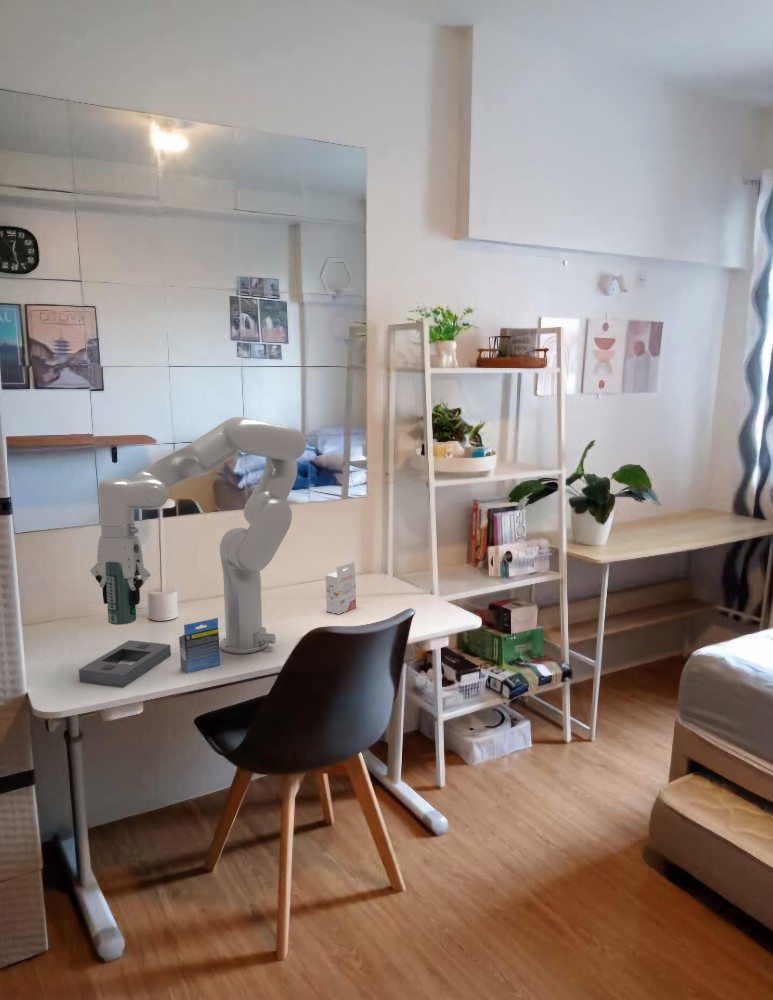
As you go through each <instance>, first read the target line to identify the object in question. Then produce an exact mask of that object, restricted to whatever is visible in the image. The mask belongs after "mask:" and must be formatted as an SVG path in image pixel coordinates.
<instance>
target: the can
mask: <svg viewBox="0 0 773 1000" xmlns="http://www.w3.org/2000/svg"><path fill="white" fill-rule="evenodd" d="M133 581H134V580H133ZM106 588H107V604H106V605H107V621H108V623H109V624H111V625H114V626H116V625H118V626H119V625H128V624H132V623H134V622H136V621H137V607H136V606H137V605H135V606H133V607H131V606H130V605H129V591H130V590H131V588H130V586H129V583H128V581H127V579H124V576H123V571H122V564H121V570H120V563H109V562H106Z"/></svg>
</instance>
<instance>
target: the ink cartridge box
mask: <svg viewBox="0 0 773 1000" xmlns="http://www.w3.org/2000/svg"><path fill="white" fill-rule="evenodd" d="M346 568H348V569H346ZM356 582H357V581H356V567H355V561H352V562H348V563H345V564H342V565H340V566H337V567H336V571H333V572H332V573H328V574H325V589H326V590H325V592H326V593H325V594H326V596H325V597H326V612H327V611H328V612H327V613H329V612H333V613H337V614H339V613H342V612H344V613H346V612H345V611H347V612H350V611H351V609H352V610H354V609H355V608H357V598H356V597H357V591H356V587H357V585H356ZM333 613H332V614H333ZM337 614H336V615H337ZM342 614H343V613H342ZM339 615H340V614H339Z"/></svg>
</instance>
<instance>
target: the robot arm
mask: <svg viewBox="0 0 773 1000" xmlns="http://www.w3.org/2000/svg"><path fill="white" fill-rule="evenodd" d="M306 448H307V440H306V436H305V435H304V434H303V433H302V432H301V431H300V430H299V429H298V428H296V427H291V426H286V425H281V424H280V425H279V424H275V423H274V424H273V423H271V422H270V423H269V422H265V421H259V420H256V419H252V418H247V417H241V416H234V417H233V416H232V417H231V418H228V419H226V420H224V421H222V423H220V424H218V425H217V426H215V427H213V429H211V430H209V431H208V432H206V433H205V434H203V435H201V436H200V437H199V438H197V439H195V440H194V441H192V442H191V443H189V444H187V445H186V446H183V447H182V448H180V449H177V450H175V451H174V452H171V453H170V454H168V455H166V456H164V457H162V458H160V459H158V460H157V461H155V462H153V463H151V464H150V465H148V466H147V467H146V468H144V469H143V470H140V471H139V472H138V473H136V474H135V475H134V476H133V477H132V478H131V479H126V478H107V479H103V480H102V481H100V482H99V484H98V498H99V517H100V518H99V519H100V534H101V535H100V536H99V537H98V538H99V539H98V543H97V544H98V545H97V557H96V558H97V561H96V562H97V563H95V565H94V566H92V568H91V569H90V573H91V574H92V576H93V577H94V578H95V580H96V581H97V583H99V587H100V588H101V589H102V599H103V600H102V601H103V604H104V605H107V588H106V562H109V563H120V570H121V564H122V571H123V576H124V579H127V581H128V583H129V586H130V588H131V590H130V591H129V605H130V606H131V607H133V606H135V605H136V606H137V605H139V604H140V602H141V595H140V592H141V591H140V589H141V588H142V586H143V585H144V584H145V583H146V581H147V580H148V579H150V577H151V573H150V572H149V571H148V570H147V569H146V567H144V557H143V551H142V546H141V541H140V538H139V536H138V535H135V534H138V533H139V528H138V527H135V526H136V525H135V510H157V509H160V508H161V507H163V506H164V505H166V503H167V502H168V499H169V494H170V492H169V489H170V488H171V487H172V486H175V485H176V484H178V483H181V482H183V481H186V480H189V479H193V478H198V477H199V478H200V477H202V476H205V475H206V476H207V475H208V474H210V473H211V472H214V470H216V469H217V468H219V467H220V466H222V465H223V464H224V463H226V462H227V461H230V459H232V458H233V457H235V456H237V455H238V454H240V453H244V454H248V455H252V456H257V457H262V458H265V466H264V470H263V472H262V474H261V477H260V478H259V480H258V482H257V484H256V486H255V487H254V489H253V491H252V493H251V494H250V496H249V497H248V499H247V502H246V503H245V505H244V508H243V516H244V519H245V520H246V522H247V523H248V524H249V526H248V528H245V527H233V528H231V529H229V530H228V531H227V532H225V534H223V536H222V538H221V540H220V545H219V555H220V561H221V567H222V569H221V570H222V574H223V577H222V578H223V579H222V580H223V600H224V621H225V623H224V624H225V625H224V626H225V627H224V628H225V637H224V638H223V639H222V640H221V641H219V649H220V650H222V651H224V652H226V653H230V654H235V655H236V654H238V655H239V654H240V655H241V654H243V655H244V654H250V653H251V654H252V653H256V651H257V652H259V651H263V650H265V649H266V648H267V647H268V646H269V644H272V645H273V644H274V645H275V643H276V642H277V640H276V639H277V636H276V634H275V633H270V632H269V633H268V632H267V629H266V627H265V626H263V617H262V615H263V614H262V613H263V612H262V611H263V610H262V582H261V580H262V579H261V571H262V570H264V569H265V568H266V567H267V566H269V564H270V562H271V561H272V560H273V558H274V556H275V555H276V553H277V551H278V549H279V547H280V546H281V544H282V542H283V540H284V538H285V537H286V536H287V533H288V531H289V530H290V527H291V523H292V519H293V512H292V509H291V506H290V504H289V503H288V502H287V499H288V497H289V495H290V494H291V491H292V490H293V487H294V486H295V483H296V480H297V475H298V462H297V460H298V459H300V458H301V457H302V456H303V455H304V453H305V451H306ZM139 576H140V578H139ZM133 580H134V581H133Z"/></svg>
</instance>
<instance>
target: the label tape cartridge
mask: <svg viewBox="0 0 773 1000" xmlns="http://www.w3.org/2000/svg"><path fill="white" fill-rule="evenodd" d="M218 621H219V618H218V617H216V618H211V619H206V620H201V621H198V622H193V623H188V624H187V623H186V624H184V625H183V627H184V628H183V629H184V631H183V632H184V634H183V635H181V636H179V637H178V641H179V643H178V644H179V658H180V659H179V661H180V662H179V663H180V669H181V671H183V672H184V673H185V674H190V673H194V672H197V671H200V670H201V671H202V670H205V669H207V668H212V667H213V668H214V667H216V666H220V665H221V652H220V650H221V648H220V635H219V622H218ZM201 625H202V626H206V627H202V628H199V627H200V626H201ZM197 627H198V628H197Z"/></svg>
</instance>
